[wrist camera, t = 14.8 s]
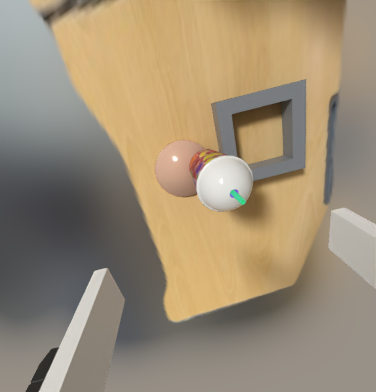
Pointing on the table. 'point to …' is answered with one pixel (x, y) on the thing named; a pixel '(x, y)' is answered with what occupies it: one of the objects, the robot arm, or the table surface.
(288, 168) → the holder
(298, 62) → the table surface
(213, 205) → the smoothie
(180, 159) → the pink flat disc
